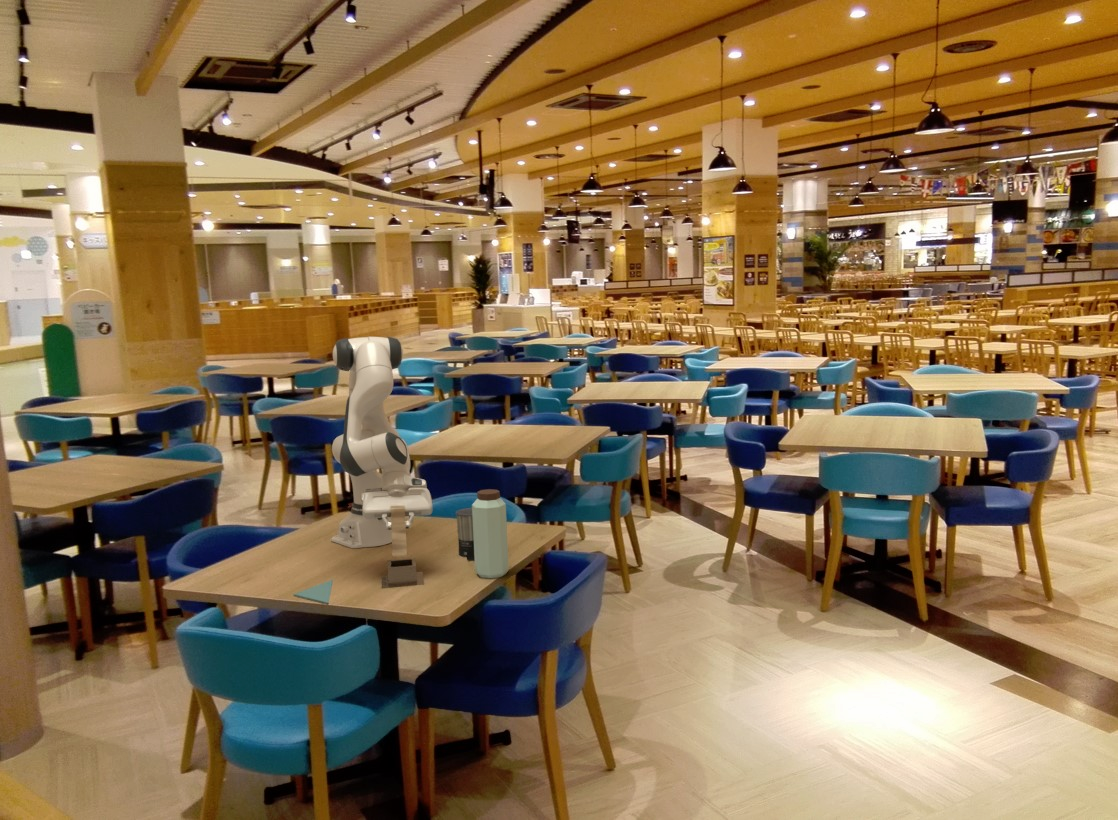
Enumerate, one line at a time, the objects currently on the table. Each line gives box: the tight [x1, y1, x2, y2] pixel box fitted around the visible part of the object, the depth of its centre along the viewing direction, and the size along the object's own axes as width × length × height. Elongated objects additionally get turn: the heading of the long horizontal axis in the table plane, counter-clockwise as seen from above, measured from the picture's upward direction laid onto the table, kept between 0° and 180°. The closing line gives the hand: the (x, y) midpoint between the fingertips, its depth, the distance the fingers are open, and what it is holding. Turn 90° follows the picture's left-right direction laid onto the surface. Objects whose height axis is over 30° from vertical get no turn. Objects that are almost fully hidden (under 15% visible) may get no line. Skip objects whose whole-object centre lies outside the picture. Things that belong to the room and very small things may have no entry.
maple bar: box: [390, 505, 407, 558], centre depth 251 cm, size 4×4×14 cm
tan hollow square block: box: [380, 557, 425, 589], centre depth 252 cm, size 12×12×6 cm
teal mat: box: [293, 579, 334, 605], centre depth 247 cm, size 16×16×1 cm
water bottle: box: [471, 488, 510, 579], centre depth 257 cm, size 10×10×25 cm
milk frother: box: [454, 507, 475, 561], centre depth 279 cm, size 14×16×15 cm
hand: (398, 528), depth 250 cm, fingers closed on maple bar, 4 cm apart
